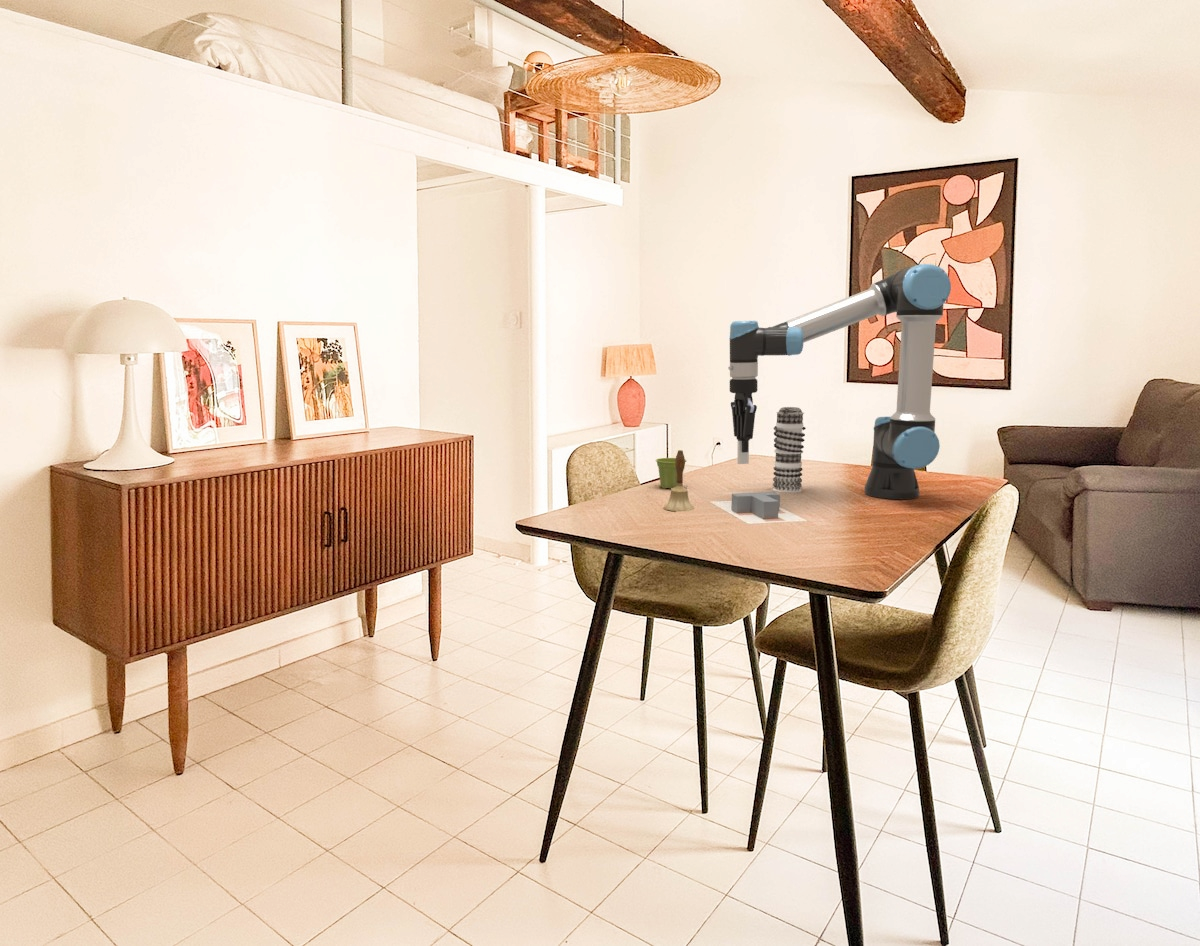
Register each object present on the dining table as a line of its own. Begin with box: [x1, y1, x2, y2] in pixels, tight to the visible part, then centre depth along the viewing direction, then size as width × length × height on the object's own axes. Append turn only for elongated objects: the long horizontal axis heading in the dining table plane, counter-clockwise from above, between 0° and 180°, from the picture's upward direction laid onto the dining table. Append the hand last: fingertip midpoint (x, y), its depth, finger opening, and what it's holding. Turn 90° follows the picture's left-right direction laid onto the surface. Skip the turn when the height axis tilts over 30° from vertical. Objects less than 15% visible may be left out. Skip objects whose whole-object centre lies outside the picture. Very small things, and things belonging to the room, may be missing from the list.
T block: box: [731, 491, 781, 519], centre depth 218 cm, size 12×12×4 cm
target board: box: [710, 500, 808, 525], centre depth 222 cm, size 16×28×1 cm, turn 12°
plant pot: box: [655, 457, 687, 489], centre depth 256 cm, size 9×9×9 cm
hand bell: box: [663, 449, 695, 512], centre depth 225 cm, size 8×8×16 cm
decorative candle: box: [772, 406, 807, 494], centre depth 250 cm, size 9×9×25 cm
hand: (743, 463), depth 231 cm, fingers closed
